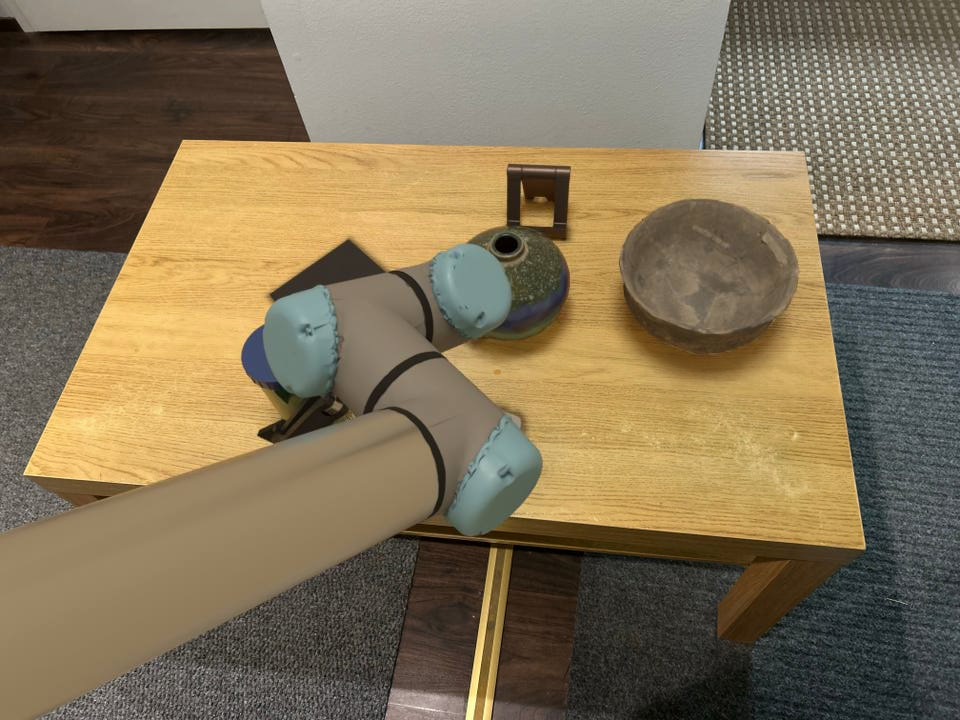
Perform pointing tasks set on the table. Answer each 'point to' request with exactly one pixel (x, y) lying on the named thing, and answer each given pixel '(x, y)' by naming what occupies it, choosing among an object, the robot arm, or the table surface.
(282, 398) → the jar
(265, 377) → the lid
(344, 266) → the mat
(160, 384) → the table surface
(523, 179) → the tablet stand
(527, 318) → the vase
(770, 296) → the bowl
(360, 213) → the table surface
